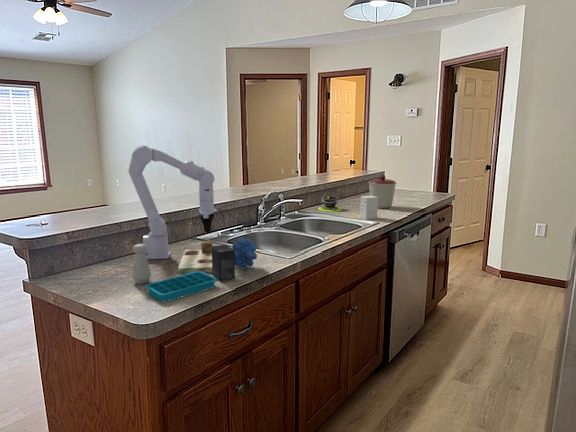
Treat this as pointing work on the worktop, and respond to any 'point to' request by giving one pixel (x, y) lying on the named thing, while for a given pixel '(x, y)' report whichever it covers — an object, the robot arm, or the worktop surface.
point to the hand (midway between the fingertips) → (207, 231)
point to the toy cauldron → (330, 204)
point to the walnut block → (206, 246)
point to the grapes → (244, 253)
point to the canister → (382, 191)
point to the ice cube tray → (181, 285)
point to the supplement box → (368, 207)
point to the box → (223, 262)
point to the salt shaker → (141, 265)
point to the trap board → (195, 262)
